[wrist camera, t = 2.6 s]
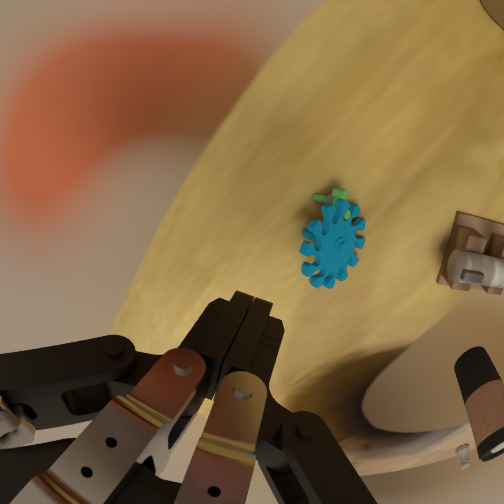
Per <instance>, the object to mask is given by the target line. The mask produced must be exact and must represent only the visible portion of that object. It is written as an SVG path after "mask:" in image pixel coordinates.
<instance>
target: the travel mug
mask: <svg viewBox="0 0 504 504" xmlns="http://www.w3.org/2000/svg"><path fill="white" fill-rule="evenodd" d="M454 370H455V373H456V377H457V380H458V383H459V387H460V390H461V393H462V397H463V400H464V404H465V407H466V411H467V414H468V417H469V421H470V424H471V428H472V432H473V435H474V439H475V443H476V447H477V452H478V455H479V459H481V460H482V461H483V462H485V461H489V460H491V459H493V458H495V457H497V456H499V455H501V454H503V453H504V384H503V382H502V380H501V378H500V376H499V374H498V372H497V370H496V368H495V366H494V364H493V363H492V361H491V359H490V357H489V355H488V354H487V352H486V350H485V349H484V348H483V347H480V346H479V347H474V348H471V349H469V350H467V351H466V352H465V353H463V354H462V355H461V356H460V357H459V359H458V360H457V361H456V363H455V366H454Z"/></svg>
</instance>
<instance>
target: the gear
mask: <svg viewBox="0 0 504 504" xmlns="http://www.w3.org/2000/svg"><path fill="white" fill-rule="evenodd" d="M347 197H348V191H347V190H345V189H340V188H334V189H333V191H332V193H331V194H329V195H328V196H324V195H320V194H314V196H313V199H314V200H317V201H321V202H325V205H323V206H322V208H321V212H322V214H323V222H321V221H320V220H317V219H312V220H311V221H310V223H309V224H308V225H307V229H304V230H303V232H302V235H303V237H305V238H308V239H310V240H313V241H315V242H316V246H315V247H314V245H313V244H312V243H310V242H307V241H303V243H302V245H301V248H300V253H301V254H303V255H306V256H311V255H315V256H316V259H315V262H314V263H313V264H310V263H308V262H304V263H303V264H302V267H301V271H302V274H303V275H305V276H307V277H310V276H311V275H312V274H313V273H314V272H315V271H317V270H318V269H320V272H319V273H318V274H315V275H312V276H311V277H310V279H309V282H310V283H311V285H312V286H314V287H316V288H317V289H318V288H319V287H320V286H321V285H323V286H325V287H327V288H330V289H331V288H333V287H334V284H335V278H336V279H338V280H340V281H343V280H345V279H346V278H347V276H348V273H347V264H348V265H350V266H352V267H354V266H355V265H356V264H357V262H358V261H359V258H358V257H356V256H355V254H354V250H353V247H354V246H355V247H357V248H359V249H362V247H363V245H364V242H365V239H364V238H361V237H358V236H357V237H355V231H356V229H358V230H361V231H363V230H364V229H365V220H363V219H360V218H357V219H356V220H355V221H354V222H353V223H351V220H352V218H353V217H358V216H359V215H360V208H359V206H358V205H355V204H351V205H350V203H349V202H348V201H346V200H345V199H347Z"/></svg>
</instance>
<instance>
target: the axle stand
mask: <svg viewBox="0 0 504 504" xmlns="http://www.w3.org/2000/svg"><path fill="white" fill-rule="evenodd" d="M436 282H437V283H438V284H441V285H449V286H450V288H451V289H456V290H465V291H469V289H470V288H472V289H480V290H485V291H486V293H490V294H499V295H501V293H502V291H503V288H504V224H502V223H499V222H495V221H492V220H488V219H485V218H481V217H477V216H474V215H470V214H466V213H462V212H458V211H457V213H456V217H455V221H454V225H453V229H452V232H451V236H450V240H449V243H448V246H447V250H446V253H445V256H444V259H443V262H442V265H441V268H440V271H439V274H438V277H437V280H436Z"/></svg>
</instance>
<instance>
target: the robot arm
mask: <svg viewBox="0 0 504 504" xmlns="http://www.w3.org/2000/svg"><path fill="white" fill-rule="evenodd" d="M480 1H481V3H482V4H483V6H484V8H485V9H486V11H487V12H488V13H489V15H490V16H491V17H492V18H493V19H494V20H495V21H496V23H497V24H499V25H500V26H501V27H502V28H503V29H504V0H480ZM272 306H273V303H271V302H268V301H265V300H263V299H260V298H257V297H255V299H254V296H251V295H248V294H246V293H243V292H240V291H236V292H235V293H234V295H233V297H232V298H231V300H230V301H227V300H224V299H222V298H218V299H216V300H214V301H212V302H210V303H209V304H208V306H207V307H206V308H205V310H204V311H203V314H201V316H200V317H199V318H198V321H196V323H195V324H194V326H193V327H192V328H191V330H190V331H189V333H188V334H187V336H186V337H185V338H184V340H183V341H182V343H181V344H180V346H179V347H178V348H174V349H171V350H168V351H167V352H165V353H164V354H163V355H154V354H148V353H143V352H138V351H136V350H135V346H134V345H133V343H132V342H131V341H130V340H129V339H127V338H126V337H123V336H120V335H107V336H102V337H98V338H92V339H88V340H82V341H77V342H71V343H66V344H61V345H55V346H49V347H43V348H38V349H32V350H25V351H19V352H12V353H5V354H0V504H245V502H246V497H247V494H248V490H249V486H250V482H251V478H252V474H253V470H254V466H255V461H256V460H258V464H259V466H260V468H261V470H262V472H263V474H264V476H265V478H266V480H267V482H268V484H269V486H270V488H271V490H272V492H273V494H274V496H275V498H276V500H277V502H278V503H279V504H377V502H376V501H375V499H374V498H373V496H372V495H371V493H370V492H369V490H368V489H367V487H366V486H365V484H364V483H363V481H362V480H361V478H360V476H359V475H358V473H357V472H356V470H355V469H354V467H353V466H352V464H351V463H350V461H349V460H348V458H347V456H346V455H345V453H344V452H343V450H342V449H341V447H340V445H339V444H338V442H337V441H336V439H335V438H334V436H333V434H332V433H331V431H330V430H329V428H328V426H327V425H326V423H325V422H324V421H323V419H322V418H320V417H319V416H318V415H316V414H314V413H311V412H307V411H298V412H295V413H292V412H290V411H289V410H287V409H286V408H284V407H283V406H281V405H280V404H278V403H277V402H276V401H275V399H274V398H273V397H272V395H271V393H270V389H269V382H270V378H271V375H272V371H273V368H274V365H275V362H276V358H277V355H278V352H279V348H280V345H281V341H282V338H283V334H284V331H285V330H284V327H283V323H282V320H280V319H277V318H274V317H271V316H269V314H270V311H271V308H272ZM215 392H216V393H215ZM214 394H215V397H214V400H213V401H214V403H213V406H212V408H211V411H210V414H209V416H208V419H207V422H206V425H205V427H204V430H203V432H202V435H201V437H200V438H199V441H198V443H197V446H196V448H195V451H194V453H193V456H192V459H191V461H190V464H189V466H188V469H187V471H186V474H185V477H184V479H183V482H182V483H177V482H172V481H168V480H164V479H161V478H159V475H160V474H161V472H162V471H163V469H164V468H165V466H166V464H167V462H168V460H169V457H170V455H171V453H172V451H173V450H174V448H175V447H176V445H177V444H178V442H179V441H180V439H181V438H182V436H183V434H184V433H185V432H186V430H187V428H188V427H189V425H190V424H191V422H192V421H193V419H194V418H195V416H196V414H197V412H198V410H199V408H200V406H201V405H202V403H203V401H204V399H205V398H207V399H210V400H212V398H213V396H214ZM90 420H93V421H92V422H91V423H90V424H89V425H88V426H87V427H86V428H85V429H84V431H83V432H82V433H81V434H80V435H79V436H78V437H77V438H66V439H61V440H56V441H51V442H46V443H41V444H35V445H29V446H22V447H19V446H21V445H24V444H27V443H31V442H32V441H33V440H34V434H35V430H42V429H48V428H54V427H60V426H65V425H71V424H76V423H80V422H85V421H90ZM116 445H117V446H116Z"/></svg>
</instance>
